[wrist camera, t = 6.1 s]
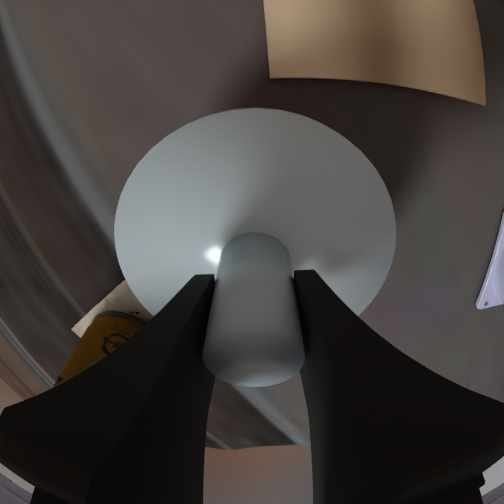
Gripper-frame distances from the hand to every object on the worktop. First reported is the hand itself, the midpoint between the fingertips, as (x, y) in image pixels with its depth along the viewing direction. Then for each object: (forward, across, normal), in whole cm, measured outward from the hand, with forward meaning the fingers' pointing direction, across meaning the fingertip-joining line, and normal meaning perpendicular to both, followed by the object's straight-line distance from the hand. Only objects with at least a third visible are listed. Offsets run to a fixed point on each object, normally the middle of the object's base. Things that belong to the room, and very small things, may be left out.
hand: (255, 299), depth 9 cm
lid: (+2, 0, -1) cm, 2 cm away
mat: (+6, -7, -13) cm, 16 cm away
